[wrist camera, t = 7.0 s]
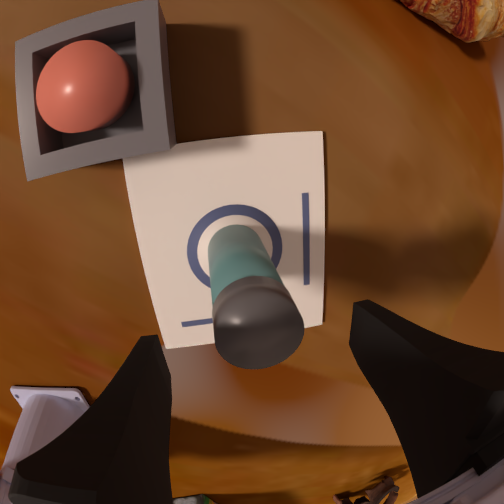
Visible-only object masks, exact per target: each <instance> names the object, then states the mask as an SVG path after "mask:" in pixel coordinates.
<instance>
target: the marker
mask: <svg viewBox="0 0 504 504" xmlns="http://www.w3.org/2000/svg"><path fill="white" fill-rule="evenodd" d="M208 262H209V274H210V285H211V296H212V307H213V308H212V319H213V330H214V340H215V345H216V348H217V350H218V352H219V354H220V355H221V356H222V357H223V359H225V360H226V361H227V362H229V363H230V364H232V365H235V366H237V367H241V368H245V369H262V368H267V367H271V366H273V365H276V364H278V363H280V362H282V361H284V360H285V359H287V358H288V357H289V356H290V355H292V354H293V353H294V352H295V350H296V349H297V348H298V346H299V345H300V343H301V341H302V338H303V335H304V322H303V318H302V316H301V314H300V312H299V310H298V308H297V306H296V304H295V302H294V300H293V299H292V297H291V295H290V293H289V291H288V290H287V289H286V287H285V286H284V284H283V282H282V280H281V278H280V276H279V274H278V272H277V270H276V268H275V266H274V264H273V262H272V260H271V258H270V256H269V254H268V253H267V251H266V249H265V247H264V245H263V243H262V241H261V239H260V237H259V236H258V234H257V233H256V232H255V231H254V230H252V229H251V228H249V227H247V226H244V225H237V224H236V225H229V226H226V227H223V228H221V229H220V230H218V231H217V232H216V233H215V234H214V235H213V237H212V238H211V240H210V242H209V245H208Z"/></svg>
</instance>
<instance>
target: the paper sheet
mask: <svg viewBox="0 0 504 504" xmlns="http://www.w3.org/2000/svg"><path fill="white" fill-rule="evenodd" d="M123 165H124V171H125V178H126V184H127V189H128V195H129V201H130V206H131V211H132V216H133V221H134V226H135V231H136V236H137V240H138V245H139V249H140V254H141V258H142V262H143V267H144V271H145V275H146V279H147V283H148V287H149V291H150V294H151V298H152V302H153V306H154V309H155V313H156V316H157V320H158V323H159V327H160V330H161V334H162V337H163V340H164V344H165V347H166V349H170V348H179V347H187V346H195V345H203V344H211V343H215V340H214V330H213V319H212V308H213V307H212V296H211V285H210V274H209V262H208V245H209V242H210V240H211V238H212V237H213V235H214V234H215V233H216V232H217V231H218V230H220V229H221V228H223V227H226V226H229V225H236V224H237V225H244V226H247V227H249V228H251V229H252V230H254V231H255V232H256V233H257V234H258V236H259V237H260V239H261V241H262V243H263V245H264V247H265V249H266V251H267V253H268V254H269V256H270V258H271V260H272V262H273V264H274V266H275V268H276V270H277V272H278V274H279V276H280V278H281V280H282V282H283V284H284V286H285V287H286V289H287V290H288V291H289V293H290V295H291V297H292V299H293V300H294V302H295V304H296V306H297V308H298V310H299V312H300V314H301V316H302V318H303V322H304V328H307V327H312V326H317V325H322V318H323V294H324V256H325V193H324V155H323V132H322V131H308V132H287V133H271V134H258V135H246V136H235V137H226V138H217V139H208V140H200V141H193V142H185V143H179V144H176V145H175V146H174V147H173V148H172V149H170V150H166V151H160V152H154V153H148V154H142V155H137V156H132V157H126V158H123Z"/></svg>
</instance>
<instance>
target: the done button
mask: <svg viewBox="0 0 504 504" xmlns="http://www.w3.org/2000/svg"><path fill="white" fill-rule="evenodd" d="M134 88H135V80H134V75H133V71H132V69H131V67H130V65H129V64H128V63H127V62H126V60H125V59H123V58H122V57H121V56H120V55H118V54H117V53H116V52H115V51H114V50H112V49H111V48H110V47H108V46H107V45H105V44H104V43H101V42H98V41H94V40H81V41H77V42H73V43H71V44H68V45H67V46H65V47H63V48H62V49H60V50H59V51H57V52H56V53H55V54H54V55H53V56H52V57H51V58H50V59H49V61H48V62H47V63H46V65H45V66H44V68H43V70H42V72H41V74H40V77H39V80H38V83H37V89H36V101H37V106H38V110H39V112H40V115H41V116H42V118H43V119H44V121H45V122H46V123H47V124H48V125H49V126H51V127H52V128H54V129H56V130H58V131H61V132H65V133H77V132H85V131H93V130H99V129H103V128H105V127H108V126H110V125H111V124H113V123H114V122H116V121H117V120H118V119H119V118H120V117H121V116H122V115H123V114H124V113H125V111H126V110H127V108H128V107H129V105H130V103H131V101H132V98H133V94H134Z"/></svg>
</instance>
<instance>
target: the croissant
mask: <svg viewBox="0 0 504 504" xmlns="http://www.w3.org/2000/svg"><path fill="white" fill-rule="evenodd" d="M400 1H401V2H402V3H403V4H404V5H405V6H406V7H407V8H409V9H410V10H411V11H413V12H415V13H417V14H419V15H421V16H423V17H425V18H426V19H429V20H431V21H434V22H435V23H437V24H438V25H439V26H440V27H441V28H443V29H444V30H446V31H447V32H448V33H452V35H453V36H454V37H456V38H458V39H460V40H462V41H464V42H466V43H470V42H474V41H478V40H479V41H484V42H486V41H489V40H490V39H491V38H497V37H504V0H400Z"/></svg>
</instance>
